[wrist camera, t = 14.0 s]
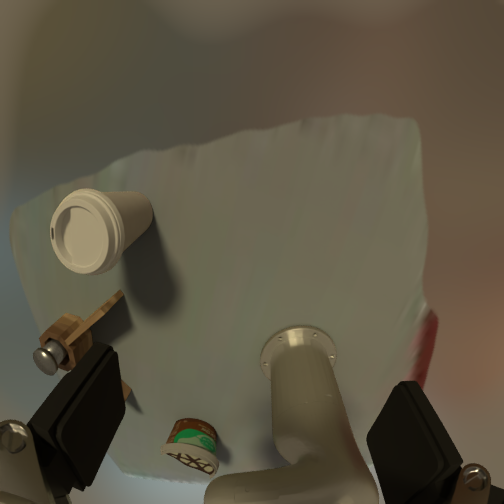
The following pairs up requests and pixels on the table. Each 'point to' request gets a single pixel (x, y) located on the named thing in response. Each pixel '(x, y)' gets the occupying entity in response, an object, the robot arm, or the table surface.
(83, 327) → the hinge
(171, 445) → the food container
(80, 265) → the coffee cup
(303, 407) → the robot arm
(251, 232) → the table surface
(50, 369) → the pin
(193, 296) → the table surface
